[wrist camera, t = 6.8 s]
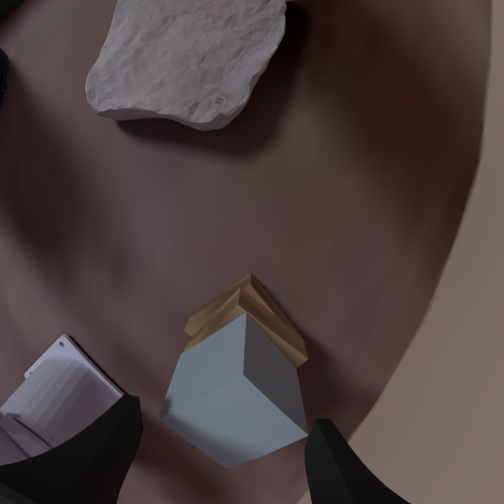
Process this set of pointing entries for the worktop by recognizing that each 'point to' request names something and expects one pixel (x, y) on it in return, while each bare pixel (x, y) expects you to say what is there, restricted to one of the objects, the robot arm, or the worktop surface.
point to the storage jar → (3, 75)
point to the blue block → (235, 396)
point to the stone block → (184, 59)
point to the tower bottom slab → (213, 306)
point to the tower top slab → (267, 321)
